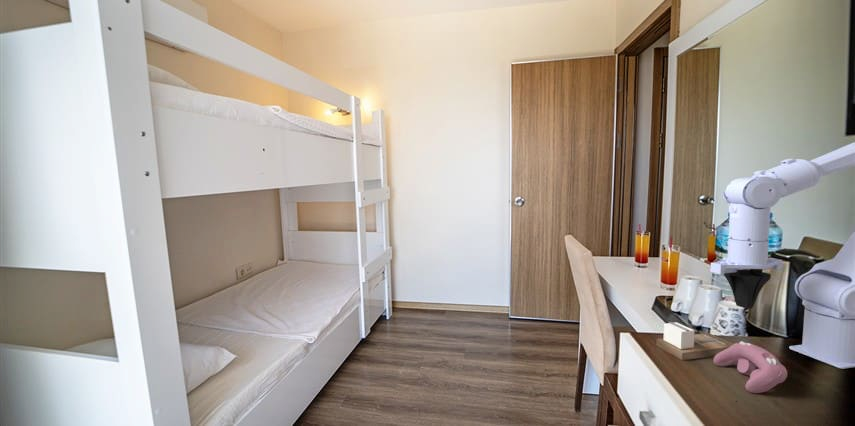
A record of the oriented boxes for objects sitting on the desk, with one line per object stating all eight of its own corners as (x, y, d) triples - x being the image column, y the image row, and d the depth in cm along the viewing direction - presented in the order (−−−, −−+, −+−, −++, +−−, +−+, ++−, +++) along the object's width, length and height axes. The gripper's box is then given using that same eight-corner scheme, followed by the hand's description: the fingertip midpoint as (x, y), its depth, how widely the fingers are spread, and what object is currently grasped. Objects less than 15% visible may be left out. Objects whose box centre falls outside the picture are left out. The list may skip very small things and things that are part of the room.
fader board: (708, 339, 74) (708, 332, 74) (737, 352, 68) (738, 345, 68) (656, 345, 72) (656, 338, 72) (682, 360, 66) (682, 352, 66)
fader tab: (675, 338, 71) (676, 321, 71) (693, 347, 67) (694, 329, 67) (663, 339, 71) (664, 322, 71) (680, 349, 67) (681, 330, 67)
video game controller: (775, 406, 55) (801, 370, 53) (746, 391, 55) (771, 356, 54) (732, 372, 64) (753, 341, 63) (708, 360, 65) (729, 329, 64)
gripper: (755, 234, 72) (751, 297, 73) (696, 238, 69) (694, 303, 70) (796, 239, 65) (792, 308, 66) (733, 243, 62) (729, 315, 63)
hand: (744, 306), depth 68 cm, fingers closed
